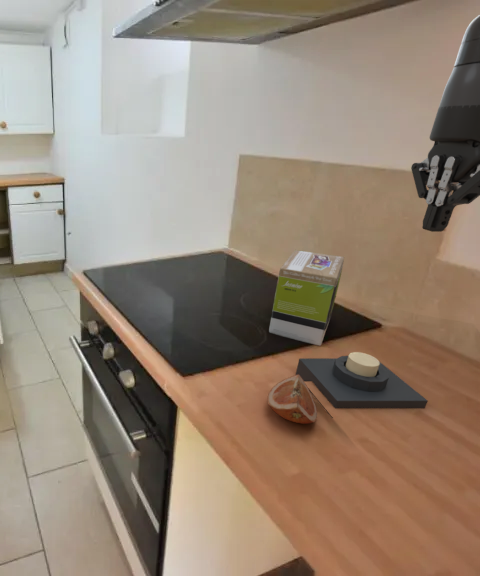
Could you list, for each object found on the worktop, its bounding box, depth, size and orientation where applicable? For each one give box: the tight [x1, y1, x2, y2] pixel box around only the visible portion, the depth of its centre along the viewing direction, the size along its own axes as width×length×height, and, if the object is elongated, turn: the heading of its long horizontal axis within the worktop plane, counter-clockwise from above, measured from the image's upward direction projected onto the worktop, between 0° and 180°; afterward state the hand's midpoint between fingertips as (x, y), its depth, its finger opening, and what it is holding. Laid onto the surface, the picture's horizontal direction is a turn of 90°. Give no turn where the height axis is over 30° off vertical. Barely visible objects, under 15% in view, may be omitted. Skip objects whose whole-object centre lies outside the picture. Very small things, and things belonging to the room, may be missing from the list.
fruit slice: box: [267, 374, 318, 425], centre depth 55 cm, size 8×7×5 cm
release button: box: [346, 351, 381, 377], centre depth 58 cm, size 4×4×2 cm
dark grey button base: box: [295, 355, 428, 419], centre depth 60 cm, size 13×11×5 cm
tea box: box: [268, 249, 345, 347], centre depth 79 cm, size 15×10×15 cm
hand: (432, 230), depth 57 cm, fingers closed
